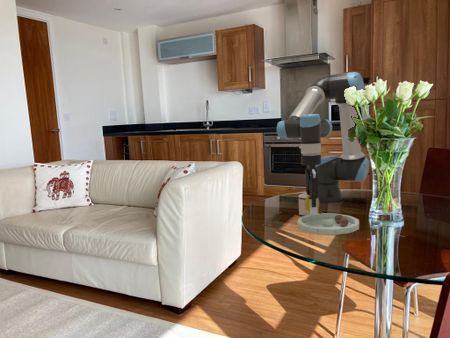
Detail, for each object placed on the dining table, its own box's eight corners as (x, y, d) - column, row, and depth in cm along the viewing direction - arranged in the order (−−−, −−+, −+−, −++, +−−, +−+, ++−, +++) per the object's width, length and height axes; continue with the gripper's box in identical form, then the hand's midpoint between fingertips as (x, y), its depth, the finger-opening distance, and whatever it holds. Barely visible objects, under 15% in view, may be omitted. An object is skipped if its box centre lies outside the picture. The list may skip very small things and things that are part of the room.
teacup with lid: (318, 218, 158) (317, 192, 156) (297, 217, 161) (296, 191, 160) (320, 211, 169) (320, 187, 167) (301, 211, 172) (300, 186, 171)
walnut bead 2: (342, 224, 143) (342, 215, 143) (350, 225, 141) (350, 217, 140) (337, 226, 141) (337, 217, 141) (345, 228, 138) (345, 219, 138)
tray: (319, 217, 159) (319, 209, 159) (370, 226, 142) (370, 217, 142) (286, 229, 144) (286, 220, 144) (338, 241, 127) (338, 231, 126)
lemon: (305, 215, 140) (304, 195, 139) (304, 212, 146) (304, 192, 145) (320, 215, 139) (319, 195, 138) (319, 212, 145) (318, 192, 144)
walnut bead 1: (337, 221, 148) (337, 213, 148) (345, 222, 145) (345, 214, 145) (333, 223, 146) (332, 214, 145) (340, 224, 143) (340, 216, 143)
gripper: (297, 153, 149) (299, 208, 152) (304, 157, 131) (306, 219, 134) (316, 152, 149) (317, 207, 151) (325, 156, 130) (327, 218, 133)
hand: (312, 213), depth 143 cm, fingers closed on lemon, 5 cm apart
